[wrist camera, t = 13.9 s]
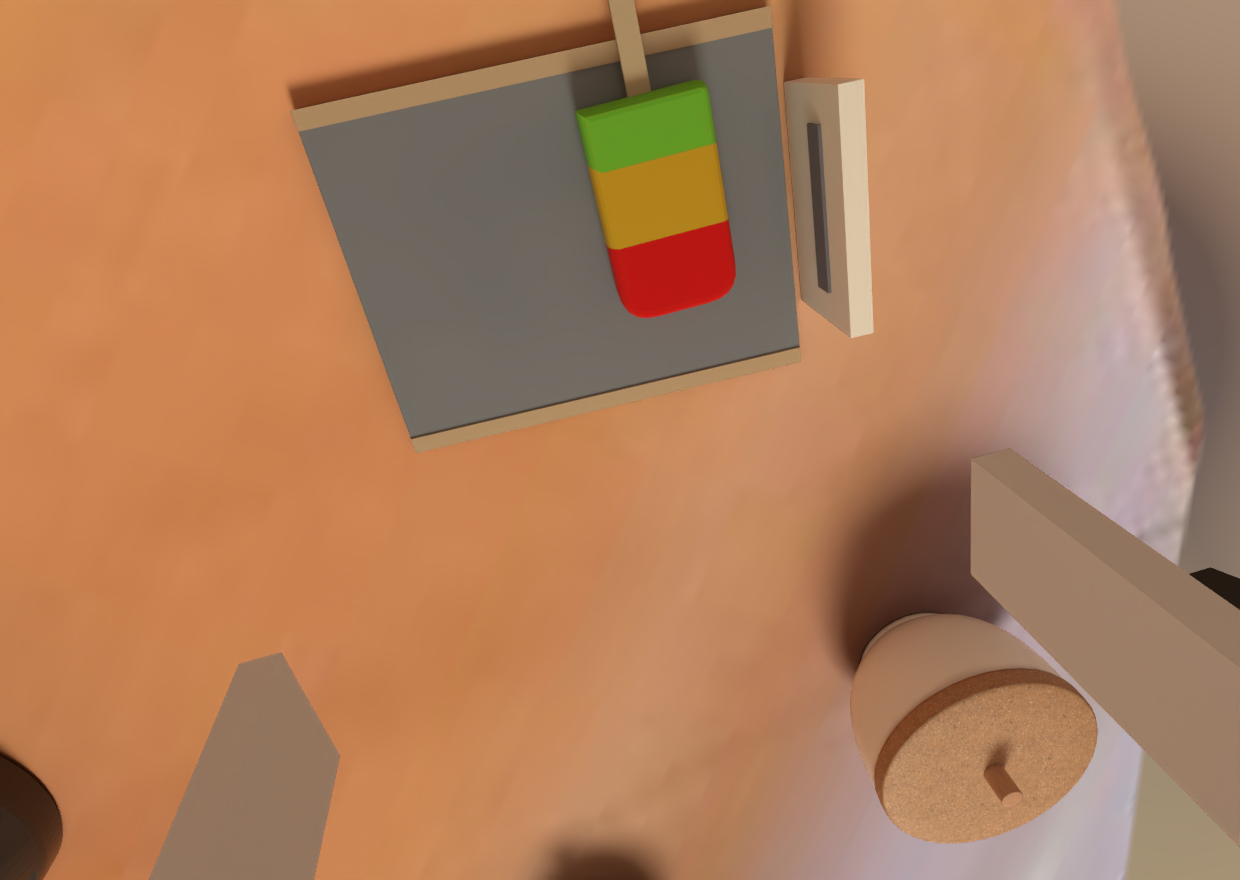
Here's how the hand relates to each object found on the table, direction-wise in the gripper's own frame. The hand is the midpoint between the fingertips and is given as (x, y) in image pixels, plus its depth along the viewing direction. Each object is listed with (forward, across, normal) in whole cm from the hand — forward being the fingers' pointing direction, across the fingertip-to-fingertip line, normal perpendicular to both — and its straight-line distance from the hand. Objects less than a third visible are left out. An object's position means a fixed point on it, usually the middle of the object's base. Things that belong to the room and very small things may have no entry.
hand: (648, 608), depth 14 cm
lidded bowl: (+24, +17, -30) cm, 42 cm away
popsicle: (+23, +6, +6) cm, 25 cm away
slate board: (+24, +2, +2) cm, 24 cm away
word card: (+24, +13, +1) cm, 27 cm away
